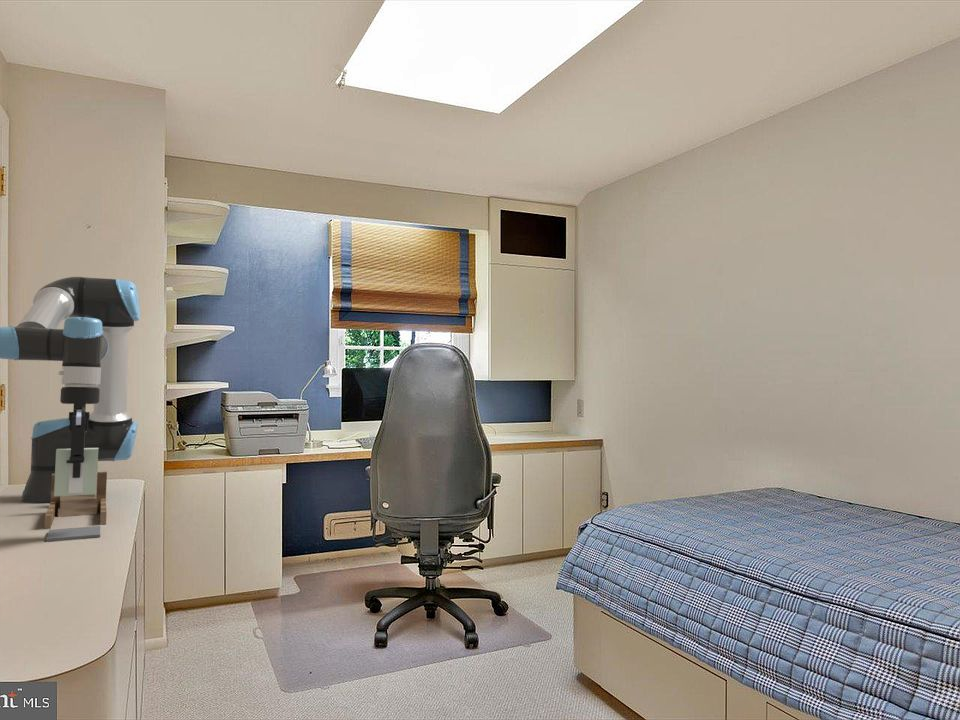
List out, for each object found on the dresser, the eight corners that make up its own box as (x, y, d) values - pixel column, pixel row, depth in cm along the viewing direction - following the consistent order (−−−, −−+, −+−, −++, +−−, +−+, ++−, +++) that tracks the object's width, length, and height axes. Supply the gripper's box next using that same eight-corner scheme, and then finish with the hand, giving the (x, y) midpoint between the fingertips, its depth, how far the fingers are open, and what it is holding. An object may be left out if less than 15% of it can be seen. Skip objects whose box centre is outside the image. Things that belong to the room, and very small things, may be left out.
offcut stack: (58, 513, 172) (59, 490, 173) (97, 510, 177) (98, 488, 177) (57, 516, 168) (58, 493, 168) (97, 514, 172) (98, 491, 172)
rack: (50, 512, 173) (52, 473, 173) (105, 509, 179) (106, 471, 179) (44, 528, 154) (46, 485, 154) (106, 524, 160) (107, 482, 161)
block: (55, 493, 148) (57, 448, 149) (96, 491, 152) (98, 447, 153) (53, 496, 145) (56, 450, 145) (96, 494, 149) (98, 449, 149)
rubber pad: (49, 532, 150) (49, 529, 150) (100, 528, 155) (100, 525, 155) (46, 541, 142) (46, 538, 142) (100, 537, 147) (100, 534, 147)
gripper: (62, 386, 155) (58, 487, 154) (58, 385, 141) (53, 497, 139) (99, 386, 159) (95, 485, 158) (99, 386, 144) (95, 495, 143)
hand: (75, 491), depth 149 cm, fingers closed on block, 4 cm apart
